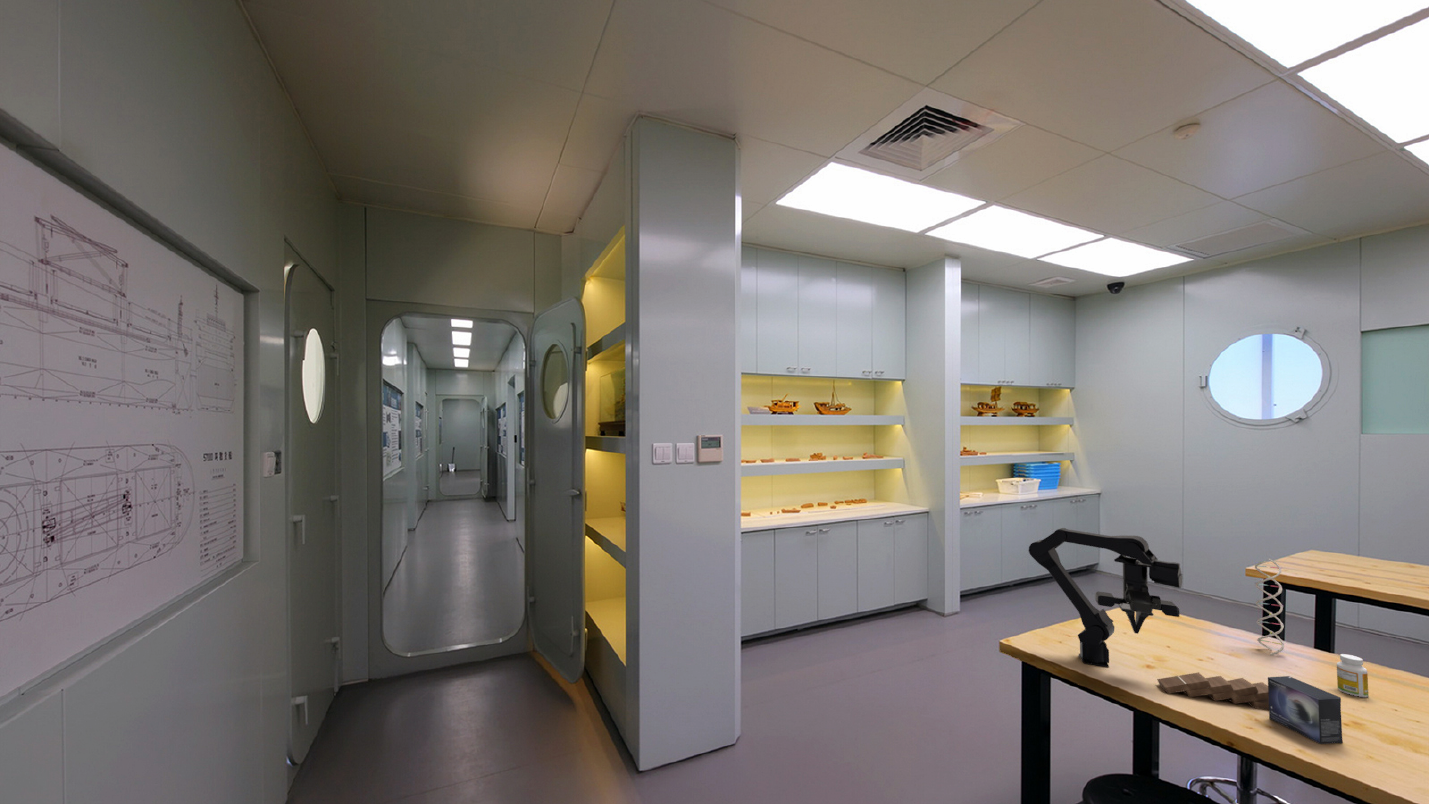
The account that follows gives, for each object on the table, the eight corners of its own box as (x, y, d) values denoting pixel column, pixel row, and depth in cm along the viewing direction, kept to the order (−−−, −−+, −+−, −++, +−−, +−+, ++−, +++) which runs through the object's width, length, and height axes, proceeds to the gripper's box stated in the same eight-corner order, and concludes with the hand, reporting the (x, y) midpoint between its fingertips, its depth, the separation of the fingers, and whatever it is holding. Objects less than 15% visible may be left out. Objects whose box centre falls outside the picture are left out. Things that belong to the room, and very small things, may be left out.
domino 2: (1186, 691, 140) (1230, 684, 136) (1177, 682, 144) (1220, 675, 141) (1189, 697, 139) (1233, 690, 136) (1180, 688, 144) (1223, 681, 141)
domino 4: (1231, 697, 136) (1276, 690, 134) (1219, 688, 141) (1262, 682, 138) (1234, 703, 136) (1279, 697, 133) (1221, 695, 141) (1264, 688, 138)
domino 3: (1212, 694, 137) (1255, 686, 135) (1200, 686, 142) (1242, 677, 140) (1215, 700, 137) (1258, 692, 135) (1203, 692, 142) (1245, 683, 139)
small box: (1266, 718, 129) (1265, 675, 130) (1290, 717, 130) (1288, 675, 130) (1319, 744, 119) (1317, 698, 119) (1344, 743, 119) (1342, 697, 120)
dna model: (1284, 659, 163) (1281, 563, 165) (1255, 652, 168) (1252, 558, 170) (1286, 653, 167) (1283, 559, 169) (1258, 646, 172) (1254, 555, 174)
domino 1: (1164, 687, 141) (1208, 680, 138) (1157, 679, 146) (1198, 672, 143) (1167, 693, 141) (1211, 686, 138) (1159, 685, 146) (1201, 678, 142)
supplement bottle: (1357, 690, 144) (1356, 654, 145) (1374, 699, 139) (1373, 662, 140) (1332, 686, 146) (1330, 651, 147) (1347, 695, 141) (1346, 659, 141)
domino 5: (1253, 701, 134) (1305, 709, 131) (1242, 692, 139) (1291, 699, 136) (1254, 708, 134) (1305, 716, 131) (1242, 698, 139) (1292, 706, 136)
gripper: (1101, 581, 150) (1101, 636, 150) (1185, 592, 142) (1186, 650, 141) (1094, 572, 160) (1095, 623, 160) (1172, 582, 151) (1173, 636, 151)
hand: (1135, 633), depth 152 cm, fingers closed
